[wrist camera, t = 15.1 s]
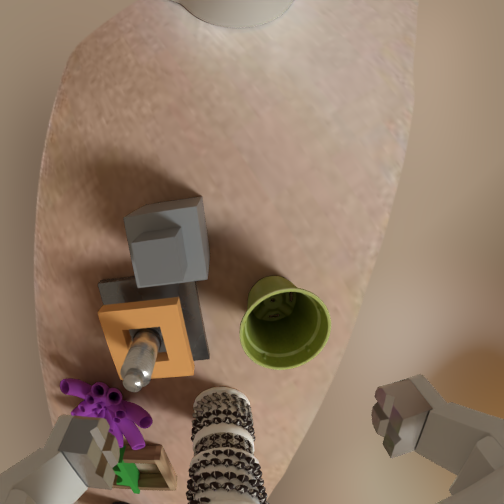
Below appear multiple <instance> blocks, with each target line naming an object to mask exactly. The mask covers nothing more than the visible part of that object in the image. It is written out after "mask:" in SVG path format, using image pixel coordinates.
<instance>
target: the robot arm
mask: <svg viewBox="0 0 504 504" xmlns="http://www.w3.org/2000/svg"><path fill="white" fill-rule="evenodd" d="M171 1H174V2H177V3H180V4H181V5H183V6H184V7H185V8H186V9H187V10H188V11H190V12H191V13H192V14H193V15H194V16H196V17H198V18H199V19H201V20H203V21H205V22H208V23H210V24H213V25H217V26H222V27H229V28H247V27H254V26H258V25H262V24H265V23H268V22H270V21H272V20H274V19H276V18H278V17H279V16H280V15H282V14H283V13H284V12H285V11H286V10H287V9H288V8H289V7H290V5H291V4H292V2H293V1H294V0H171ZM375 398H376V400H377V403H376V404H375V405H374V406H373V409H372V423H373V425H374V428H375V431H376V432H377V434H378V435H380V436H383V437H384V441H383V445H384V447H385V449H386V451H387V452H388V454H389V456H390V458H393V457H396V456H399V455H403V454H405V453H408V452H411V451H414V450H415V452H417V453H418V454H420V455H422V456H423V457H425V458H427V459H429V460H431V461H432V462H434V463H436V464H437V465H439V466H441V467H443V468H445V469H447V470H448V471H450V472H452V473H454V474H456V475H457V477H456V479H455V480H454V482H453V484H452V485H451V487H450V489H449V491H450V493H451V495H452V496H450V497H448V498H446V499H444V500H442V501H440V502H438V503H436V504H504V419H501V418H498V417H495V416H491V415H488V414H485V413H482V412H479V411H476V410H473V409H470V408H467V407H464V406H461V405H458V404H455V403H453V402H451V403H447V402H446V401H445V400H444V399H443V397H441V395H440V394H439V393H438V392H437V391H436V389H435V388H434V387H433V386H432V385H431V384H430V382H429V381H428V380H427V379H426V378H425V377H424V376H423V375H421V374H419V375H416V376H413V377H410V378H407V379H404V380H400V381H397V382H394V383H391V384H387V385H384V386H380V387H378V388H377V390H376V392H375ZM109 428H110V426H109V424H108V422H107V420H106V419H104V418H97V417H85V416H72V415H64V414H63V415H61V416H59V418H58V420H57V422H56V424H55V426H54V428H53V430H52V432H51V434H50V436H49V438H48V440H47V442H46V444H45V447H44V448H43V449H41V448H39V449H38V450H37V451H35V452H33V453H32V454H31V455H29V456H28V457H26V458H24V459H23V460H21V461H20V462H18V463H17V464H15V465H14V466H12V467H10V468H9V469H7V470H6V471H4V472H3V473H1V474H0V504H73V503H74V502H75V501H76V500H77V499H78V498H79V497H80V496H81V495H82V494H83V493H84V492H85V491H86V490H87V489H88V488H87V487H90V488H99V489H109V490H112V486H113V482H114V478H115V472H114V470H113V469H112V468H113V467H114V466H115V465H117V464H118V461H119V457H120V452H119V445H118V441H117V439H116V437H115V436H114V435H113V434H111V433H110V432H109Z"/></svg>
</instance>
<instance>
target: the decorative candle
mask: <svg viewBox="0 0 504 504" xmlns="http://www.w3.org/2000/svg"><path fill="white" fill-rule="evenodd" d="M193 407H194V408H193V410H194V412H195V413H193V414H192V415H193V417H194V418H196V420H193V421H192V426H193V428H192V435H193V436H192V437H191V440H192V442H193V451H194V457H193V458H192V461H191V463H190V469H189V477H190V478H191V479H190V480H188V481H187V484H188V485H187V488H188V489H189V491H187V492H186V496H187V500H188V501H189V503H188V504H269V503H268V502H267V501H266V498H267V493H265V487H264V486H262V485H263V484H264V480H263V479H262V478H261V476H262V472H261V471H260V468H261V467H260V465H259V461H258V460H257V459H256V458H255V456H254V443H253V441H255V436H254V433H255V432H254V428H253V427H252V426H253V419H252V413H251V407H250V402H249V400H248V399H247V397H246V396H245V394H243V393H242V392H240V391H238V390H237V389H234V388H229V387H225V386H224V387H212V388H210V389H207V390H205V391H203V392H201V393H200V394H199V395H198V396H197V397H196V399H195V402H194V405H193ZM193 484H194V486H193ZM260 493H261V494H260ZM193 494H194V498H193Z"/></svg>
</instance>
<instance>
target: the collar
mask: <svg viewBox="0 0 504 504" xmlns="http://www.w3.org/2000/svg"><path fill="white" fill-rule="evenodd" d="M98 316H99V320H100V323H101V326H102V329H103V332H104V335H105V338H106V341H107V344H108V347H109V350H110V353H111V356H112V358H113V361H114V364H115V367H116V369H117V372H118V375H119V377H120V380H123V379H122V377H121V373H120V371H121V368H122V365H123V363H124V360H125V358H126V356H127V353H128V351H129V349H130V346H131V344H132V339H131V336H130V333H129V329H140V328H151V327H160V328H161V332H162V336H163V340H164V343H165V347H166V351H167V352H158V354H157V358H156V361H155V365H154V368H153V372H152V376H151V379H152V378H167V377H180V376H191V375H194V366H195V365H194V361H193V357H192V353H191V349H190V345H189V340H188V336H187V331H186V327H185V322H184V318H183V313H182V309H181V304H180V299H179V297H173V298H164V299H156V300H147V301H138V302H128V303H119V304H109V305H103V306H102V307H101V309H100V310H99V311H98Z"/></svg>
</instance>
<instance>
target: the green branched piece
mask: <svg viewBox="0 0 504 504" xmlns="http://www.w3.org/2000/svg"><path fill="white" fill-rule="evenodd" d="M125 448H126V446H123V447H122V448H120V449H119V452H120V457H119V461H118V464H117V465H115V466H114V467H113V468H112V469H113V470H114V472H115V474H116V475H118V477H117V481H116V483H117V485H125V486H130V487H131V489H132V491H133V492H134V493H137V494H139V493H140V490H139V488H138V480H139V478H140V473H139V471H138V469H137V467H136V465H135V463H124V461H123V456H124V452H125Z"/></svg>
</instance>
